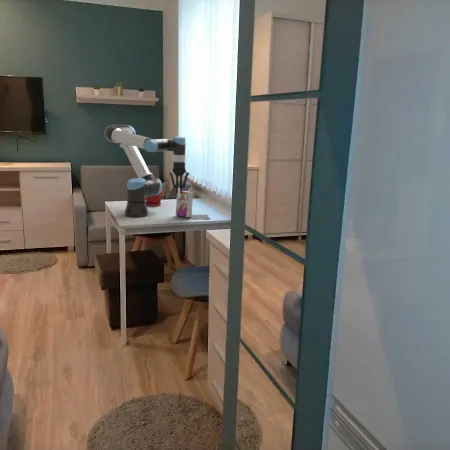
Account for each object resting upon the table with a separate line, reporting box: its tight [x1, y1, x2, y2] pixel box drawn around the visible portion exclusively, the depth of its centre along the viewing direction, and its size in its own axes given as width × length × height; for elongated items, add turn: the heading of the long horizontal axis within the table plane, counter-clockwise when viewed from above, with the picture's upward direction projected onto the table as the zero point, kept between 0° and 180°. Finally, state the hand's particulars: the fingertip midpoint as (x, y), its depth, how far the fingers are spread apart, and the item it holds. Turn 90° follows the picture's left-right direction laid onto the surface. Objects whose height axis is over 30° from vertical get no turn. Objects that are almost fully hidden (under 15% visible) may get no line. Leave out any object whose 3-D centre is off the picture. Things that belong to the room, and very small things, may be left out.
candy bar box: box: [175, 190, 194, 218], centre depth 285 cm, size 11×5×16 cm, turn 44°
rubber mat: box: [188, 214, 211, 220], centre depth 288 cm, size 13×12×1 cm
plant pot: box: [146, 189, 164, 207], centre depth 318 cm, size 13×13×12 cm
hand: (178, 198), depth 282 cm, fingers closed
